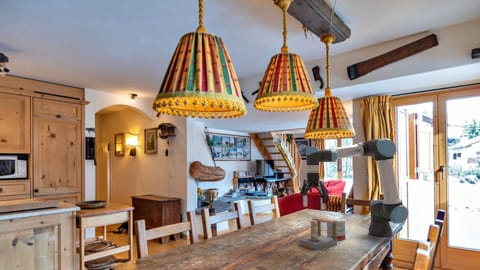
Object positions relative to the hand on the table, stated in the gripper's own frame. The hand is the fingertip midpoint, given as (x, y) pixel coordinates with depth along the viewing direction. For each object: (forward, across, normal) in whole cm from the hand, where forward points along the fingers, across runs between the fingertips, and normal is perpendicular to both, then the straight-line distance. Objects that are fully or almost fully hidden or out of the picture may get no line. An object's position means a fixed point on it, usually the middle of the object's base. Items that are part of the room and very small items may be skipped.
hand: (314, 207), depth 183 cm
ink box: (+22, -3, +24) cm, 33 cm away
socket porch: (+22, 0, +3) cm, 22 cm away
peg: (+22, 0, 0) cm, 22 cm away
